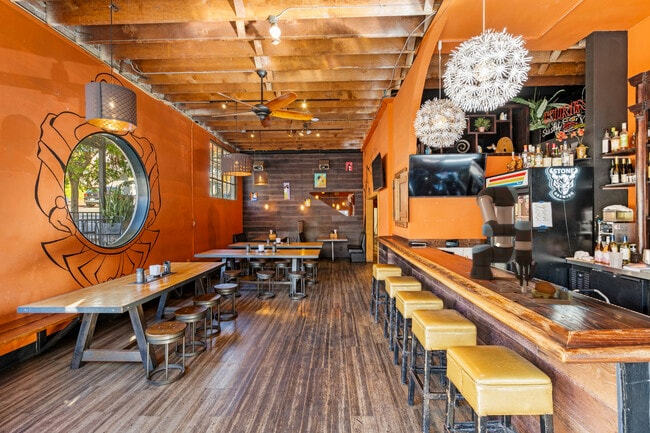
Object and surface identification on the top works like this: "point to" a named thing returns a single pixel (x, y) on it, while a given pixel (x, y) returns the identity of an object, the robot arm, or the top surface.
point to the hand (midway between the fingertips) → (524, 292)
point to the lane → (561, 294)
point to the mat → (531, 304)
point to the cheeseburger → (543, 290)
